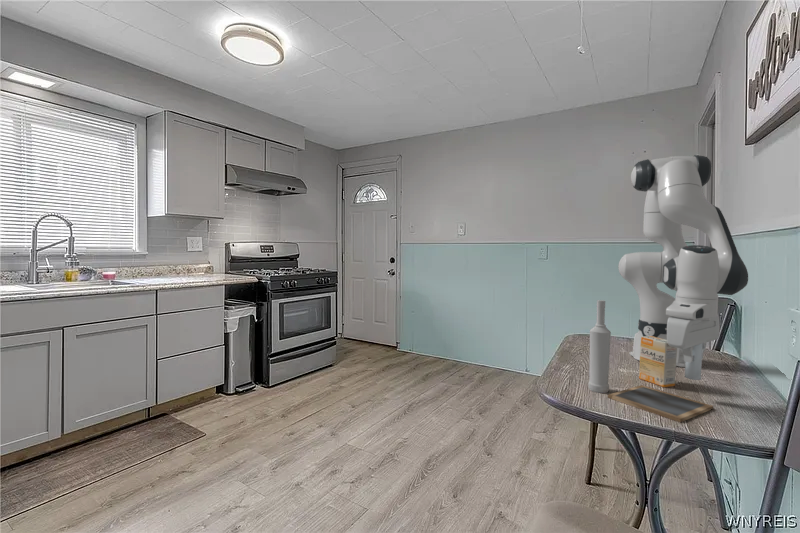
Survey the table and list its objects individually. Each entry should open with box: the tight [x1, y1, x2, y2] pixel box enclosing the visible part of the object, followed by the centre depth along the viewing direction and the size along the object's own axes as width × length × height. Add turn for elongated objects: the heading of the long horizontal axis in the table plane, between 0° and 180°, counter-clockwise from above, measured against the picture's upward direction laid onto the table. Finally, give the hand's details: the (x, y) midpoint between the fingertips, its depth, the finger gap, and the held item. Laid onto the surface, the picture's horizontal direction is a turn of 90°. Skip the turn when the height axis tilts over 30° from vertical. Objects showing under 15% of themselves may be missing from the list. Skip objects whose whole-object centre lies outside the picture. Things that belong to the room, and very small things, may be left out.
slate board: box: [607, 384, 714, 423], centre depth 99 cm, size 16×17×1 cm
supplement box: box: [638, 336, 677, 388], centre depth 115 cm, size 8×5×13 cm, turn 18°
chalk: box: [684, 343, 703, 381], centre depth 101 cm, size 3×3×12 cm
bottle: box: [587, 299, 612, 394], centre depth 107 cm, size 5×5×25 cm
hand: (693, 360), depth 102 cm, fingers closed on chalk, 3 cm apart
